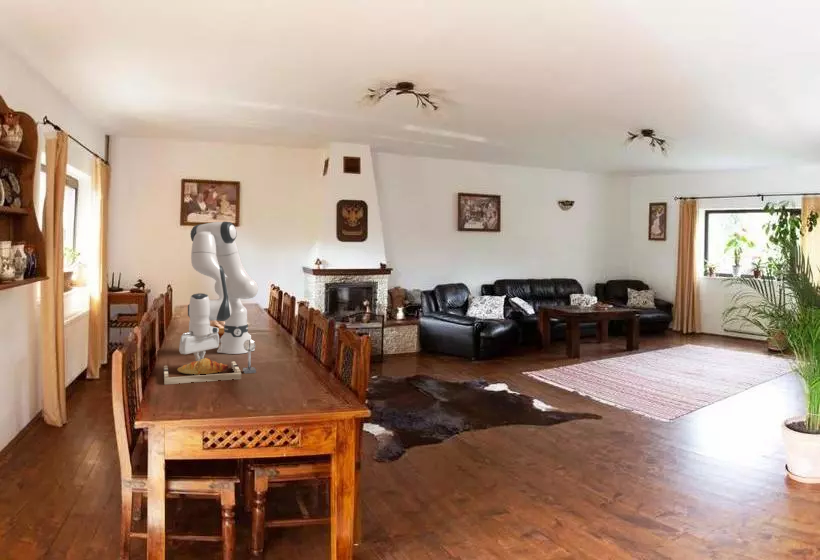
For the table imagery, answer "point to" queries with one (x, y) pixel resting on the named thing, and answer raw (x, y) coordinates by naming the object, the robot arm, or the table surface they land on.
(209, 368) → the croissant
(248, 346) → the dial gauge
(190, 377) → the frame
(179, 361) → the table surface
